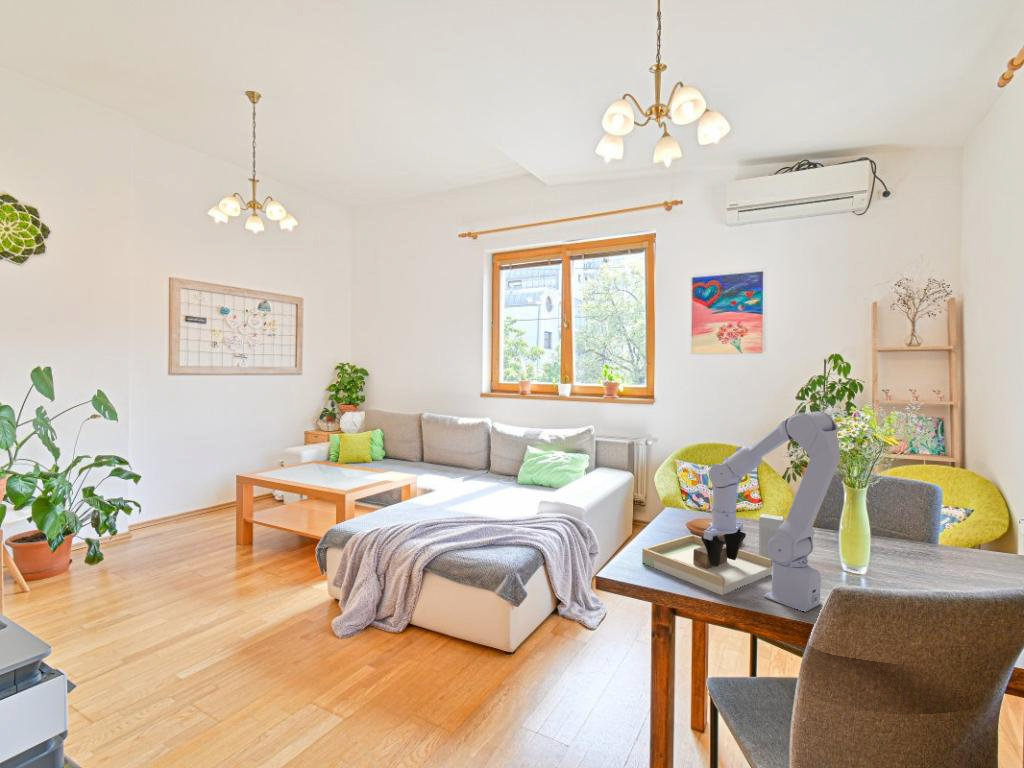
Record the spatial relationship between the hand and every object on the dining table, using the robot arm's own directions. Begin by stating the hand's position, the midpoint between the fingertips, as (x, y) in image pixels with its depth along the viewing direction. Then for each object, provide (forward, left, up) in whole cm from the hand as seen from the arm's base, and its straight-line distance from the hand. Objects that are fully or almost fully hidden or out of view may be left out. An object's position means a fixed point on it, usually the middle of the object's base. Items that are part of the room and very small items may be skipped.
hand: (723, 562), depth 133 cm
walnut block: (+4, 0, -1) cm, 4 cm away
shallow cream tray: (+5, 0, -3) cm, 6 cm away
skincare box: (-1, -22, -4) cm, 22 cm away
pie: (+19, -24, -4) cm, 31 cm away
